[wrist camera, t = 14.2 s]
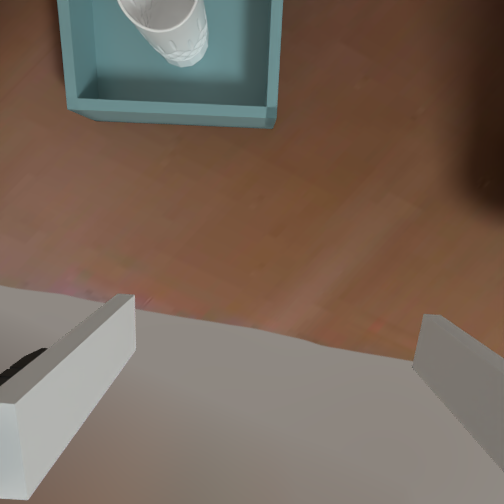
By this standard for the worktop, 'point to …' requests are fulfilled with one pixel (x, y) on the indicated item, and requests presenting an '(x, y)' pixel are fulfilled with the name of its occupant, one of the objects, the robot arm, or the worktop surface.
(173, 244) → the worktop surface
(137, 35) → the walled box
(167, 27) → the white cup
